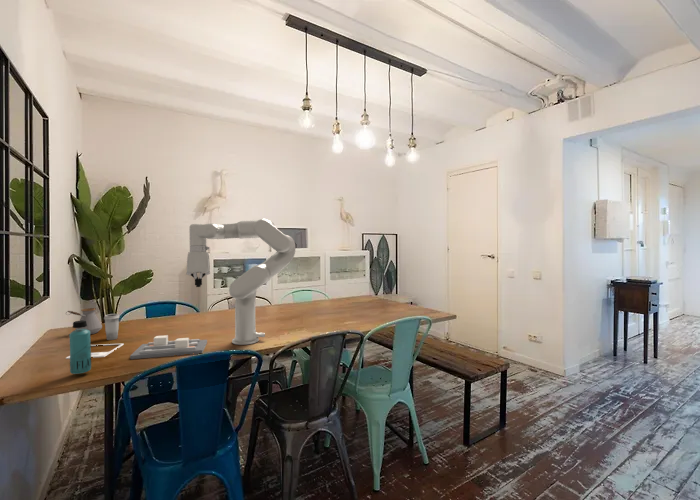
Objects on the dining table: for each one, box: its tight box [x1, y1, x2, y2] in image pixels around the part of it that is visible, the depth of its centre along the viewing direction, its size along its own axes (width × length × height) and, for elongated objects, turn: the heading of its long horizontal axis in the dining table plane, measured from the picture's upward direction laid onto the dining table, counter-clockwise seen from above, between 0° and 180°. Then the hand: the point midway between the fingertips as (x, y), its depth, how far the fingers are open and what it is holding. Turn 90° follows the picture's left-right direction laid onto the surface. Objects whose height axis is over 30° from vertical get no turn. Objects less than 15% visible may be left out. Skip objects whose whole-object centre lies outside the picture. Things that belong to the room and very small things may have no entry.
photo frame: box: [65, 343, 125, 360], centre depth 157 cm, size 15×1×18 cm
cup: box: [103, 313, 120, 341], centre depth 176 cm, size 7×7×12 cm
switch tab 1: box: [153, 334, 169, 346], centre depth 160 cm, size 5×4×4 cm
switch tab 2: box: [174, 337, 190, 348], centre depth 156 cm, size 5×4×4 cm
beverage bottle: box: [68, 320, 92, 375], centre depth 129 cm, size 6×7×20 cm
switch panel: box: [129, 338, 208, 360], centre depth 158 cm, size 28×17×2 cm, turn 106°
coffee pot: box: [65, 307, 103, 335], centre depth 182 cm, size 21×12×15 cm, turn 5°
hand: (198, 286), depth 171 cm, fingers closed
